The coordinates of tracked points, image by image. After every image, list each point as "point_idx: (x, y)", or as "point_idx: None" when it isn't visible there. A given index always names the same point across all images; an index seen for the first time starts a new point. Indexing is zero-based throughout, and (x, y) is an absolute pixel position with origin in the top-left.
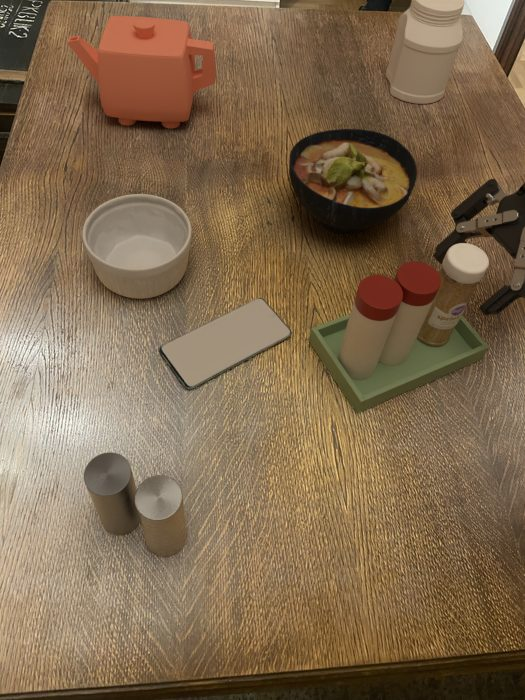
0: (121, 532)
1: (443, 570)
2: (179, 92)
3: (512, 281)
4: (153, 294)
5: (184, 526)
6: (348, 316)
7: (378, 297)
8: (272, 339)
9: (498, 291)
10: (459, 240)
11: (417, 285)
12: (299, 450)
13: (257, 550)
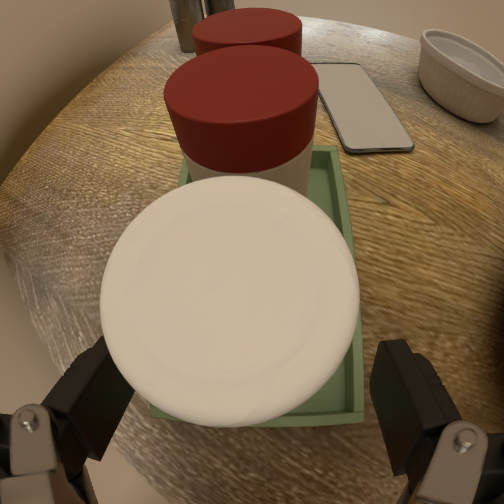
0: None
1: (36, 179)
2: None
3: (44, 426)
4: (420, 77)
5: (178, 28)
6: (342, 201)
7: (232, 17)
8: (343, 128)
9: (83, 385)
10: (411, 430)
11: (213, 63)
12: None
13: (146, 77)
